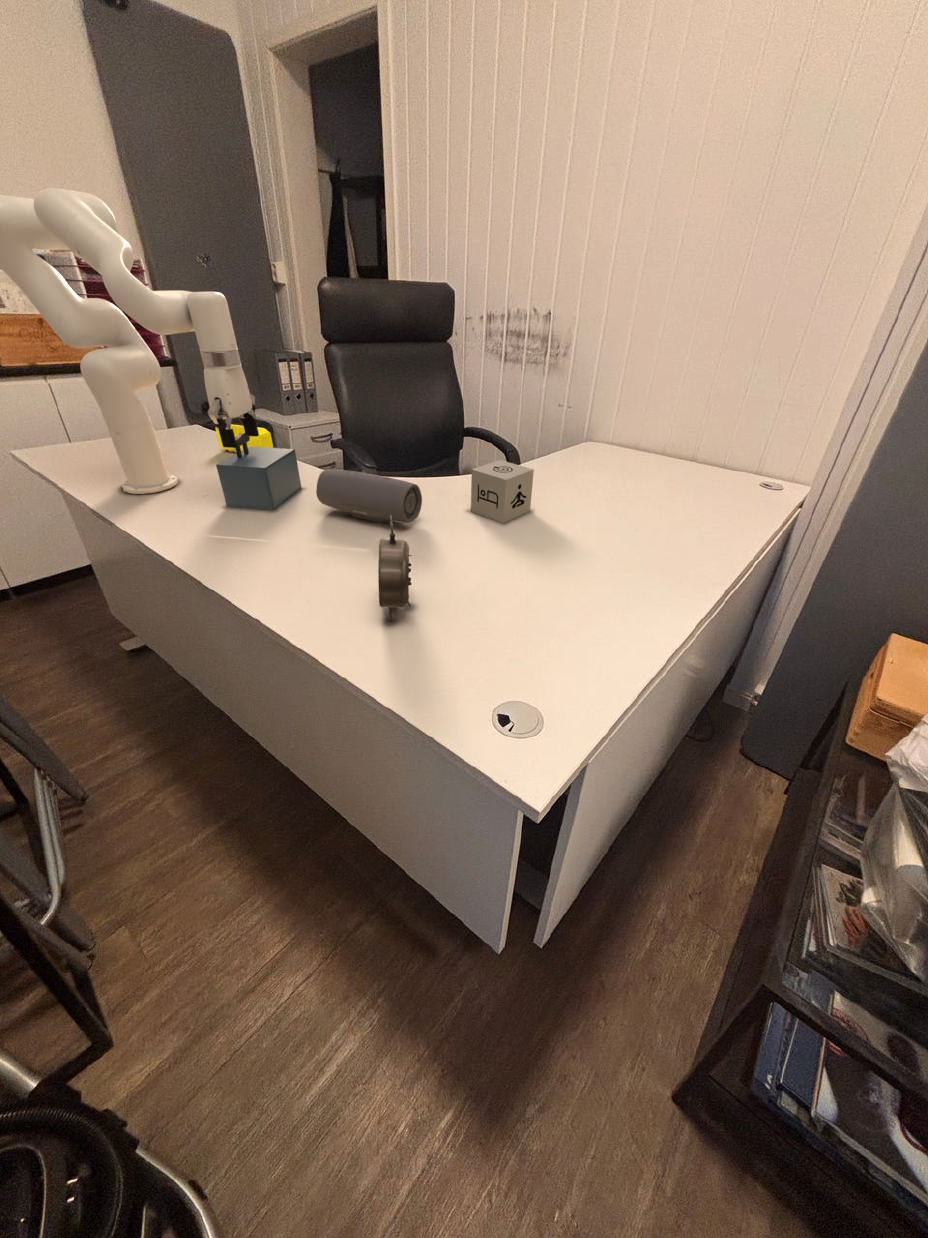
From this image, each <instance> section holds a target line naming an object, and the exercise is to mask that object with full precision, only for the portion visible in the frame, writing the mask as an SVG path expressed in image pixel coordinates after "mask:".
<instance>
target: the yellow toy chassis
mask: <svg viewBox="0 0 928 1238" xmlns="http://www.w3.org/2000/svg"><path fill="white" fill-rule="evenodd" d="M214 429H215V434H216V437H217V440H218V445H219V448H220V450H228V452H229V453H236V449H235V448H230V447H223V445H222V441H221V437H220V433H219V430H218V429H217V428H216V427H215V428H214ZM230 429H233V432H234V436H235V437H237V436H239V435H241V434H243V433H245V430H244V426H243V425H239V424H231V427H230ZM257 429H258V433H259V436H249V437H250V440H249V441H248V442H246V443H247V447H250V446H253V447H269V448H274V443H273V438H272V434H271V432H270V431H268V430H267V429H266V428H265V427H258V426H257ZM240 449H241V451H242V450H243V446H242V445H241V446H240Z"/></svg>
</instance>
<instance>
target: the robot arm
mask: <svg viewBox="0 0 928 1238" xmlns="http://www.w3.org/2000/svg"><path fill="white" fill-rule="evenodd" d="M118 230H119V229H118V222H117V220H116V217H115V215H114V213H113V211H111V209H110V207H109V206H108V205H107V204H106V202H104V201H103V200H102V199H100V198H99V197H98V196H96V195H94V194H91V193H89V192H84V191H80V190H79V191H77V190H72V189H65V188H61V187H59V188H58V187H47V188H44V189H42V190H40V191H38V192H37V193H36V195H35V197H34V198H28V197H21V196H14V195H6V194H0V270H1V271H2V272H3V273H5V275H6V276H7V277H8V278H9V279H11V281H12V282H13V283H14V284H15V285H16V286H17V287H18V288H19V289H20V290H21V292H22V293H23V294H24V295H25V297H26V298H27V299H28V301H29V302H30V303H31V304H32V306H33V307H34V308H35V309H36V310H37V312H38V313H39V314H40V316H41V317H42V318H43V319H44V320H45V322H46V323H47V324H48V326H49V327H50V328H51V329H52V330H53V332H54V333H55V334H56V335H57V337H58V338H59V339H60V340H61V341H62V342H64V344H66V345H67V346H69V347H70V348H74V349H92V348H98V349H94V350H92V351H89V352H88V353H86V354H85V355H84V356H83V357H82V359H81V360H80V373H81V375H82V378H83V380H84V381H85V382H84V383H86V385H87V387H88V389H89V390H90V392H91V394H92V396H93V397H94V399H95V401H96V403H97V406H98V407H99V410H100V412H101V415H102V417H103V419H104V423H105V425H106V427H107V430H108V433H109V436H110V438H111V441H112V443H113V447H114V449H115V452H116V454H117V456H118V459H119V462H120V465H121V468H122V470H123V473H124V476H125V478H126V480H125V481H123V482H122V484H121V487H122V490H123V491H124V492H125V493H127V494H135V495H144V494H145V495H148V494H155V493H160V492H163V491H167V490H170V489H171V488H174V487H175V486H176V485H177V484H178V481H179V480H178V478H177V477H176V475H173V474H169V471H168V467H167V465H166V462H165V458H164V455H163V452H162V449H161V445H160V443H159V440H158V437H157V434H156V431H155V428H154V424H153V422H152V421H153V420H152V419H151V416H150V413H149V411H148V409H147V407H146V406H145V404H144V403H143V402H142V401H141V400H140V399H139V397H138V396H137V395H136V393H135V392H138V391H142V390H145V389H150V388H152V387H155V386H156V385H158V384H159V383H160V382H161V378H162V369H161V366H160V363H159V360H158V359H157V357H156V356H155V354H154V353H153V351H152V350H151V348H150V347H149V346H148V344H147V343H146V341H145V340H144V339H143V338H142V336H141V335H140V333H139V331H137V329H136V328H135V326H134V325H133V324H132V322H131V321H130V320H129V318H128V317H127V316H126V315H128V316H129V317H130V318H131V319H132V320H134V322H136V323H138V324H139V325H140V326H142V327H143V328H144V329H146V330H147V331H149V332H151V333H153V334H156V335H160V336H168V335H169V336H170V335H176V334H185V333H191V332H194V334H195V337H196V341H197V345H198V349H199V352H200V356H201V360H202V365H203V367H204V369H203V378H204V380H203V381H204V386H205V391H206V397H207V402H208V405H209V406H208V407H209V408H208V410H207V415H208V416H209V418H210V420H211V423H212V424H213V425H214V426H215V428H217V429H218V430H219V433H220V437H221V441H222V445H223V447H230V448H235V447H237V444H236V440H235V436H234V432H233V429H230V427H231V425H232V420H233V419H236V418H237V417H240V416H242V418H241V421H242V426H244V430H245V433H246V434H248V435H249V436H259V433H258V429H257V427H258V425H257V420H256V418H257V415H256V397H255V395H253V394H251V392H250V389H249V385H248V381H247V379H246V375H245V372H244V369H243V368H242V367H243V365H242V361H241V356H240V352H239V348H238V344H237V340H236V334H235V330H234V325H233V321H232V317H231V312H230V309H229V304H228V301H227V298H226V296H225V295H224V294H223V293H221V292H219V291H189V290H180V289H179V290H176V289H175V290H151V288H149V287H148V286H146V285H145V284H144V283H142V282H141V281H140V280H139V279H138V278H136V276H134V275H133V274H132V273H131V270H132V268H133V265H134V261H135V255H134V250H133V248H132V246H131V244H130V243H129V242H128V241H127V240H126V239H125V238H124V237H123V236H121V235H120V234H118ZM33 250H52V251H68V250H70V251H72V252H73V253H74V255H77V257H79V258H80V259H82V261H84V262H85V263H86V264H87V265H88V266H90V267H91V268H92V269H93V270H95V272H97V273H98V274H99V275H100V276H101V278H102V282H103V285H104V286H105V288H106V290H107V293H108V294H109V296H110V297H111V299H112V300H113V302H114V303H115V304H114V303H112V302H110V301H108V300H107V299H105V298H98V297H81V296H79V295H78V294H77V293H76V292H75V290H74V289H73V288H72V287H71V286H70V285H69V284H68V282H67V280H66V279H65V278H64V277H63V275H62V274H61V273H60V272H59V271H58V270H57V269H56V268H55V267H54V266H53V265H51V264H50V263H49V262H47V261H46V260H45V259H43V258H42V257H40V256H39V255H38V254H36V252H34V251H33ZM125 314H126V315H125ZM99 347H103V348H99ZM224 420H225V421H224Z"/></svg>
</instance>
